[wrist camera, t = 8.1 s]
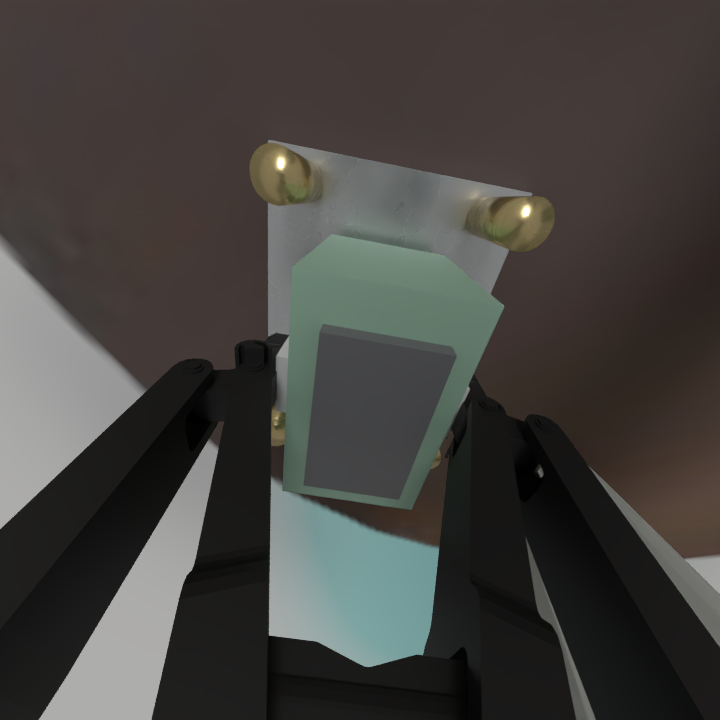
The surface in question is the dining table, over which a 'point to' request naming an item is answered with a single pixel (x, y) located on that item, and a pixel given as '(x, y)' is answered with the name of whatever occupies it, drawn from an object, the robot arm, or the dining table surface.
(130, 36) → the dining table surface
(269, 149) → the chassis
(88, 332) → the dining table surface
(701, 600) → the vase
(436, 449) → the green rectangular block
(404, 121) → the dining table surface
